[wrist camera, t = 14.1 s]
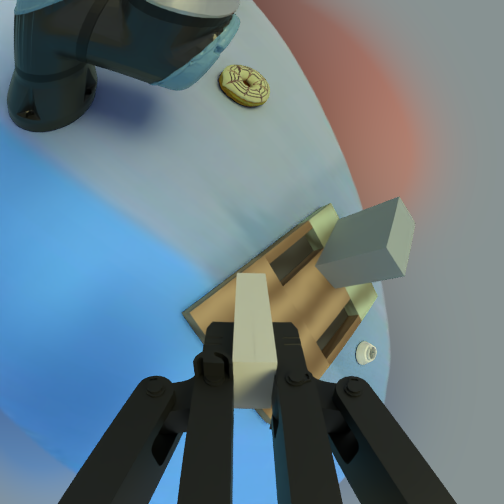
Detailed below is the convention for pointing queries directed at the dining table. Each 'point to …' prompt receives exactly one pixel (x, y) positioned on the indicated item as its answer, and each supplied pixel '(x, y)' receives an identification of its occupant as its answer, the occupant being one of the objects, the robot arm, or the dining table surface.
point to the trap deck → (296, 295)
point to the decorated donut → (244, 85)
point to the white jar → (365, 353)
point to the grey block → (368, 246)
